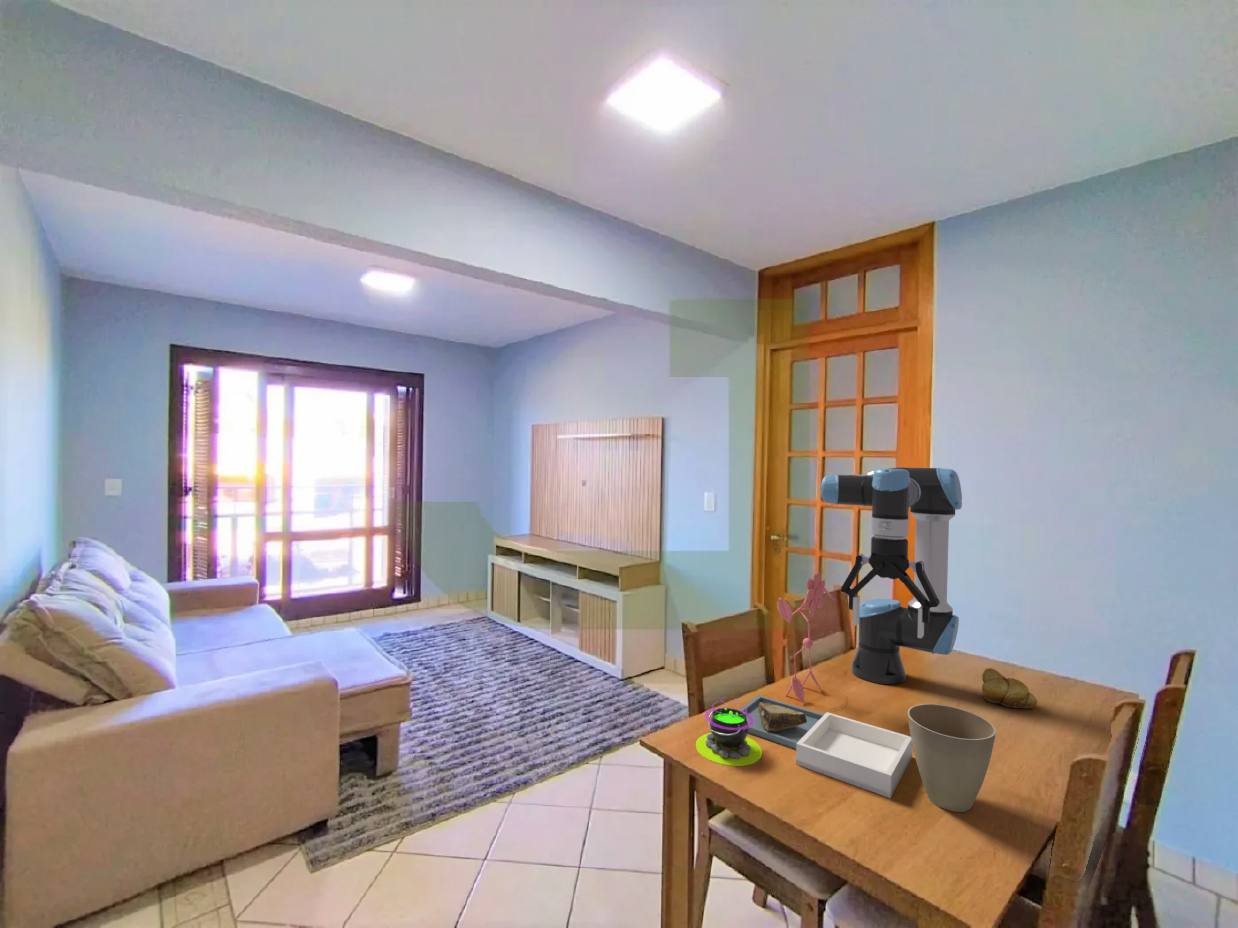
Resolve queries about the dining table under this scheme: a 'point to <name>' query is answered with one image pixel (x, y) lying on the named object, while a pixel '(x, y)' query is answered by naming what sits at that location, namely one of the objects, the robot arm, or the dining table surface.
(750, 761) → the toy cauldron
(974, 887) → the dining table surface
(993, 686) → the bread roll
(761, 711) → the rock
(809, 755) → the dish
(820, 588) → the flower sculpture
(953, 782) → the plant pot
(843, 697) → the dining table surface
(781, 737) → the tray
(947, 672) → the dining table surface
